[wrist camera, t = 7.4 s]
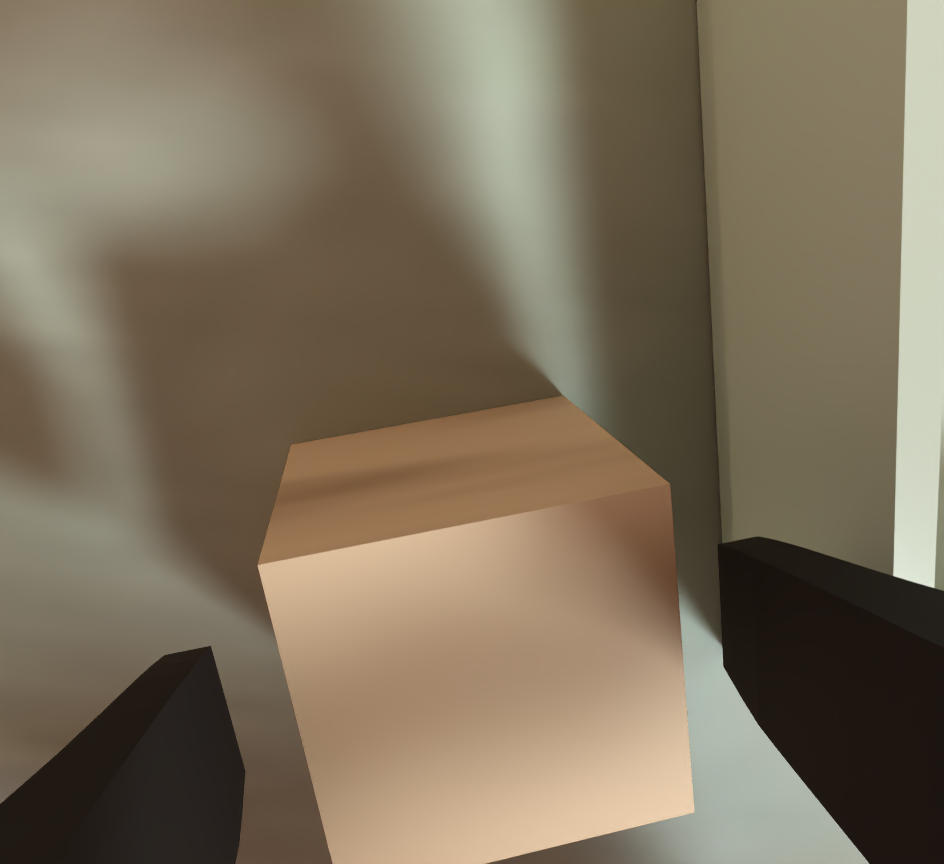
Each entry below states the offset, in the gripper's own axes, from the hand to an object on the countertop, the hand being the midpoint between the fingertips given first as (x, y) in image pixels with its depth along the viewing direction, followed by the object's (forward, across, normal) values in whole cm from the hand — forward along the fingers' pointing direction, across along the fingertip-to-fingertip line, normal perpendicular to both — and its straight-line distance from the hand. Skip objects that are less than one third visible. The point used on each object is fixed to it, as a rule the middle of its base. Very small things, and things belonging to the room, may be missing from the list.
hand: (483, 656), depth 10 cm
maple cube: (+4, 0, 0) cm, 4 cm away
